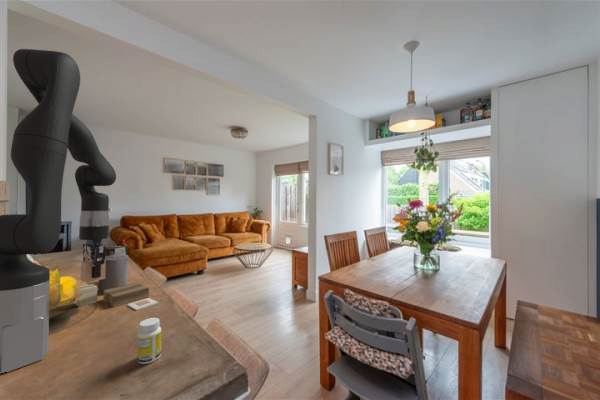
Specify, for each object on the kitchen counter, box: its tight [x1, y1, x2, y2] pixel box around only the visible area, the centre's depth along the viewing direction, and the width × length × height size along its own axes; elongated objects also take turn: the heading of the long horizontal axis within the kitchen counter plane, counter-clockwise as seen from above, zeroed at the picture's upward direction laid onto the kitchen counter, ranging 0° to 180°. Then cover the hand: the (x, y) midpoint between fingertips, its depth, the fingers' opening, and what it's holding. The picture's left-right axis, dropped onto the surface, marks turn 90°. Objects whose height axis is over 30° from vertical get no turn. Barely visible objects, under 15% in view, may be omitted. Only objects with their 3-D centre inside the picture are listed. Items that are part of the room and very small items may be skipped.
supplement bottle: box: [136, 317, 162, 365], centre depth 56 cm, size 5×5×8 cm
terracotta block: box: [80, 259, 106, 283], centre depth 80 cm, size 5×5×6 cm
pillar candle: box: [98, 255, 129, 295], centre depth 101 cm, size 10×10×15 cm
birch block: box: [75, 283, 98, 308], centre depth 87 cm, size 5×5×6 cm
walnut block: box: [102, 282, 150, 308], centre depth 91 cm, size 11×11×4 cm
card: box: [126, 297, 159, 311], centre depth 86 cm, size 7×7×1 cm
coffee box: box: [105, 245, 129, 256], centre depth 111 cm, size 9×6×16 cm
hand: (93, 276), depth 80 cm, fingers closed on terracotta block, 5 cm apart
